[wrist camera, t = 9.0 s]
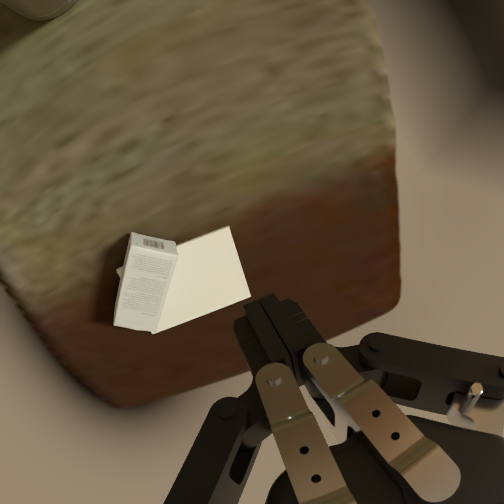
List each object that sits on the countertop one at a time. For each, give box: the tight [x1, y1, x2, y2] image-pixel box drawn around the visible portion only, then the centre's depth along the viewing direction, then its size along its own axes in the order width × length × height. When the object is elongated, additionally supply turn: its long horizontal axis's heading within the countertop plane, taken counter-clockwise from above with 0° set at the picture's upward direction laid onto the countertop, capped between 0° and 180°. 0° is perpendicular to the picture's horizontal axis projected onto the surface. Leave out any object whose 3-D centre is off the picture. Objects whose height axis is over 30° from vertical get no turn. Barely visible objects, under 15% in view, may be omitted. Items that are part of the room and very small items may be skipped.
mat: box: [116, 226, 251, 334], centre depth 44 cm, size 12×16×1 cm
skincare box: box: [113, 232, 178, 332], centre depth 39 cm, size 6×4×12 cm
